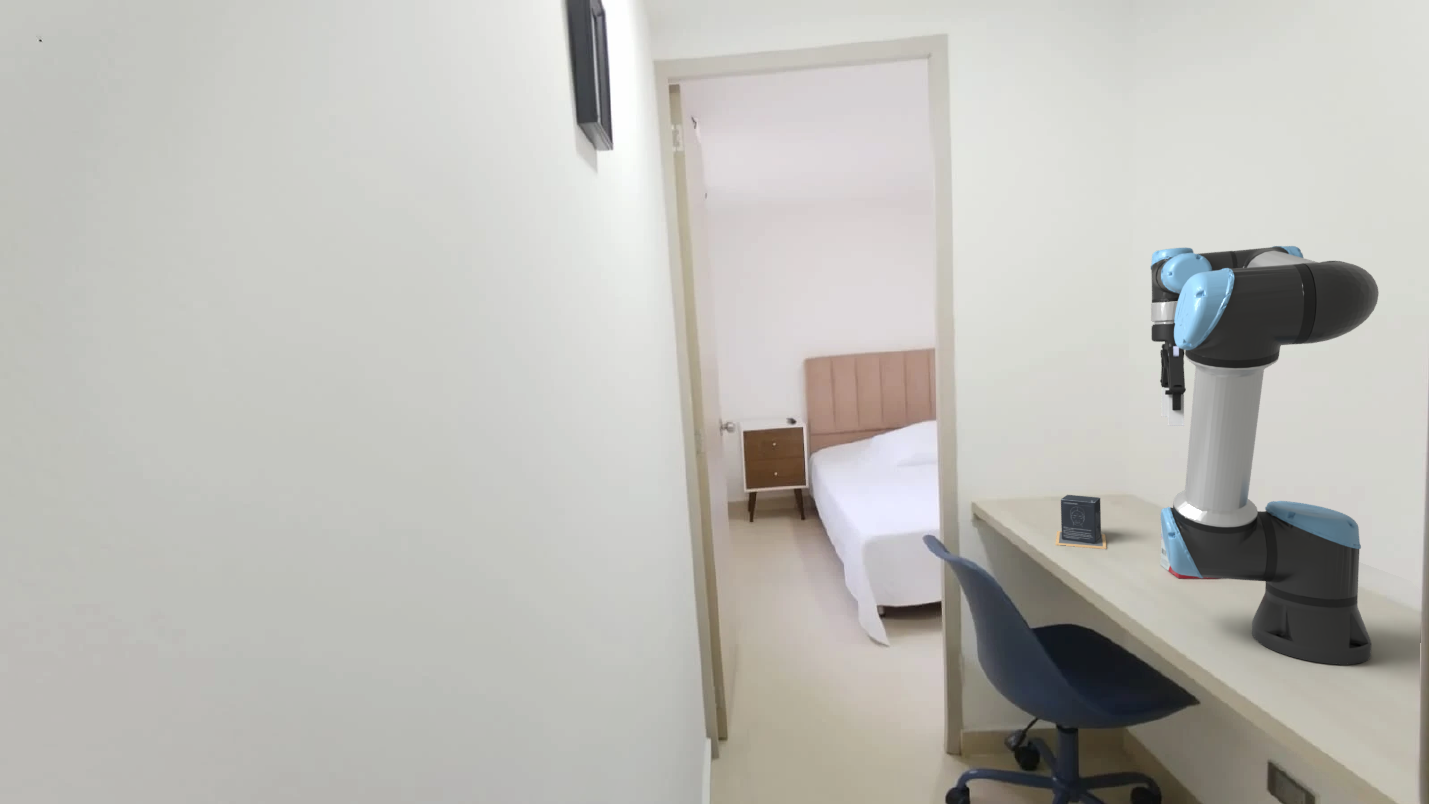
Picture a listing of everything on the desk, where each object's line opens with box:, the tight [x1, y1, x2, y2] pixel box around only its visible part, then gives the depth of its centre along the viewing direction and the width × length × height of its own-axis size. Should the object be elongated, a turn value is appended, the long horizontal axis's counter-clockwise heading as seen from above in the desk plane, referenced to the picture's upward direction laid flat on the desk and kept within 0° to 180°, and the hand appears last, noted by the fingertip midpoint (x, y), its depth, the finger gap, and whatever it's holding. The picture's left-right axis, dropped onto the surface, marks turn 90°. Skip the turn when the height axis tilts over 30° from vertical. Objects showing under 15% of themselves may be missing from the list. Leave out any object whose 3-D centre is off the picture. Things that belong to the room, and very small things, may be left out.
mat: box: [1055, 530, 1107, 550], centre depth 175 cm, size 11×11×1 cm
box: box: [1060, 494, 1102, 543], centre depth 175 cm, size 8×6×11 cm
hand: (1172, 421), depth 150 cm, fingers open, 13 cm apart
